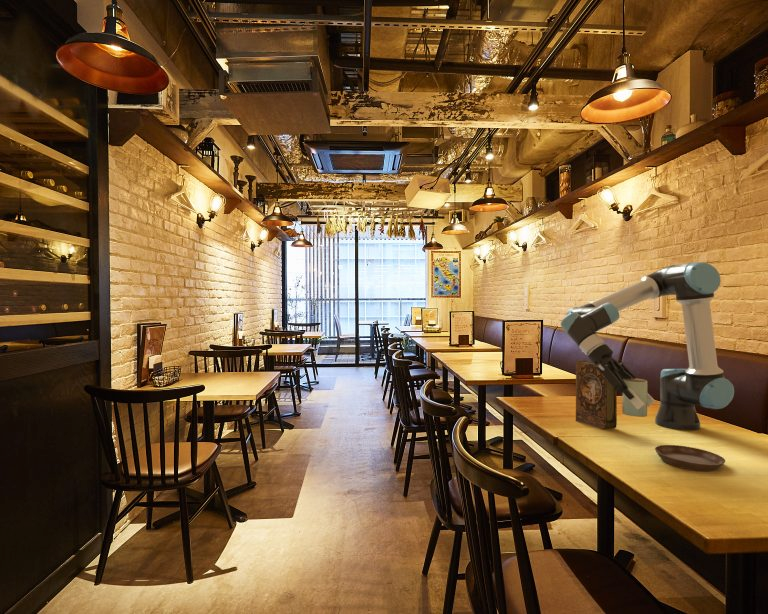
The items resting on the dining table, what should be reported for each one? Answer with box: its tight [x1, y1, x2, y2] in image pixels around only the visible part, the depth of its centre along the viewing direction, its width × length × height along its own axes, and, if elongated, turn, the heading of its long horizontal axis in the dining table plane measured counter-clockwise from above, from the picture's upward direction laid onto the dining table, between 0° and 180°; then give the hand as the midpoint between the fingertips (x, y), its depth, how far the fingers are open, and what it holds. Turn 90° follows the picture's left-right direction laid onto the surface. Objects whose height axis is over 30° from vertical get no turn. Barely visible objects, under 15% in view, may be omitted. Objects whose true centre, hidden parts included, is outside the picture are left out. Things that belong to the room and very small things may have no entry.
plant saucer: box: [654, 444, 726, 472], centre depth 134 cm, size 18×18×3 cm
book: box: [575, 360, 618, 430], centre depth 178 cm, size 16×6×25 cm, turn 22°
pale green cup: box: [621, 377, 648, 418], centre depth 143 cm, size 7×7×11 cm
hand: (646, 405), depth 140 cm, fingers closed on pale green cup, 7 cm apart
